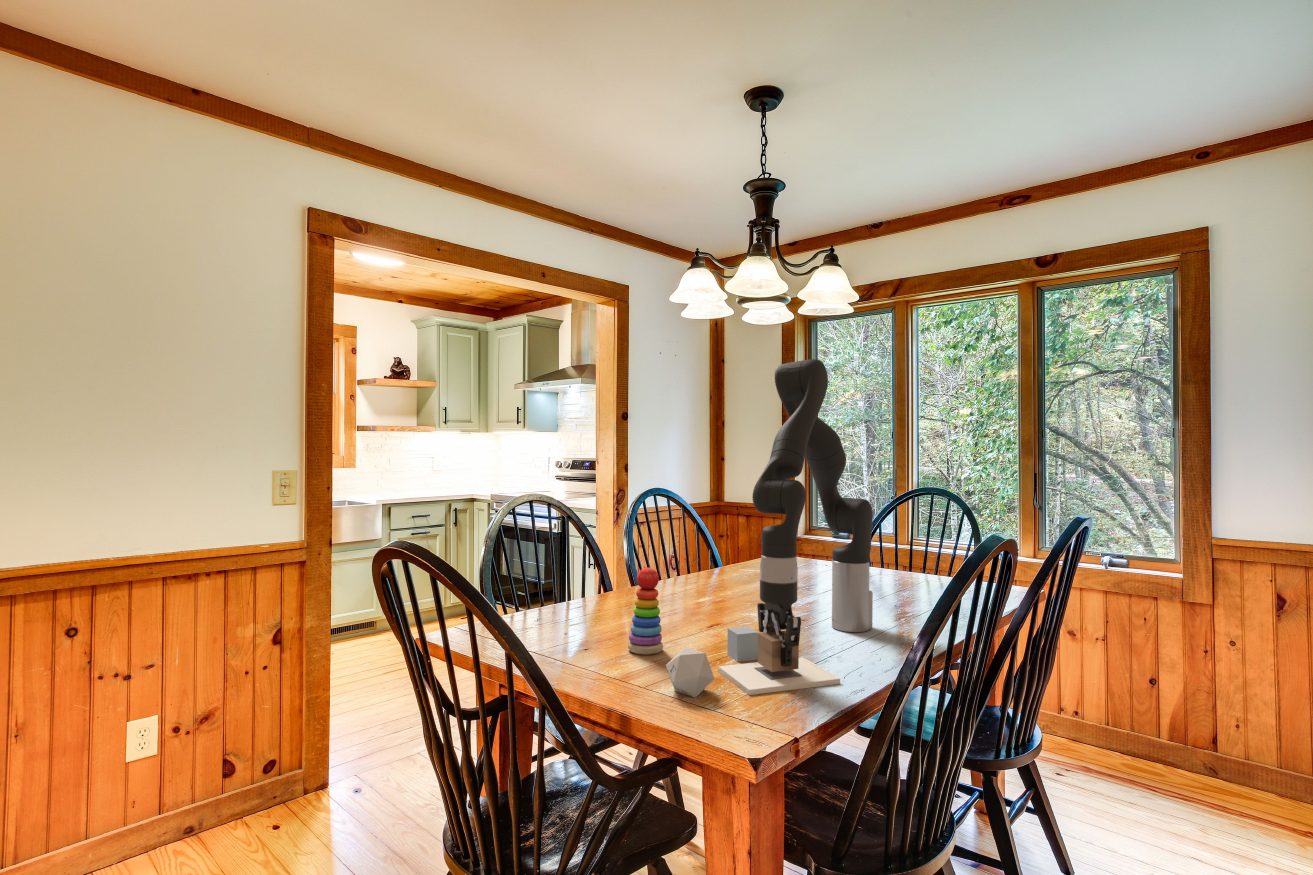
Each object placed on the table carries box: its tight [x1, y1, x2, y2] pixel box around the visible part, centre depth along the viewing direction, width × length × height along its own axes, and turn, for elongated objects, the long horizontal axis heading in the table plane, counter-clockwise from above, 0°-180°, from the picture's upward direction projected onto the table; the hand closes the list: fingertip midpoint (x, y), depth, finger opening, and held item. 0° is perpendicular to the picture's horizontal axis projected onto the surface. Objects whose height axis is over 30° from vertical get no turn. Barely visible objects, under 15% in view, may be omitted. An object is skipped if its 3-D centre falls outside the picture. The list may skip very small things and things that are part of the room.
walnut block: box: [757, 632, 800, 672], centre depth 140 cm, size 6×6×6 cm
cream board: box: [717, 657, 841, 696], centre depth 140 cm, size 20×14×1 cm
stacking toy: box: [627, 567, 664, 656], centre depth 157 cm, size 8×8×19 cm
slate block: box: [727, 626, 759, 663], centre depth 153 cm, size 5×5×6 cm
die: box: [665, 647, 715, 698], centre depth 131 cm, size 8×9×10 cm
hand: (777, 660), depth 140 cm, fingers closed on walnut block, 6 cm apart
